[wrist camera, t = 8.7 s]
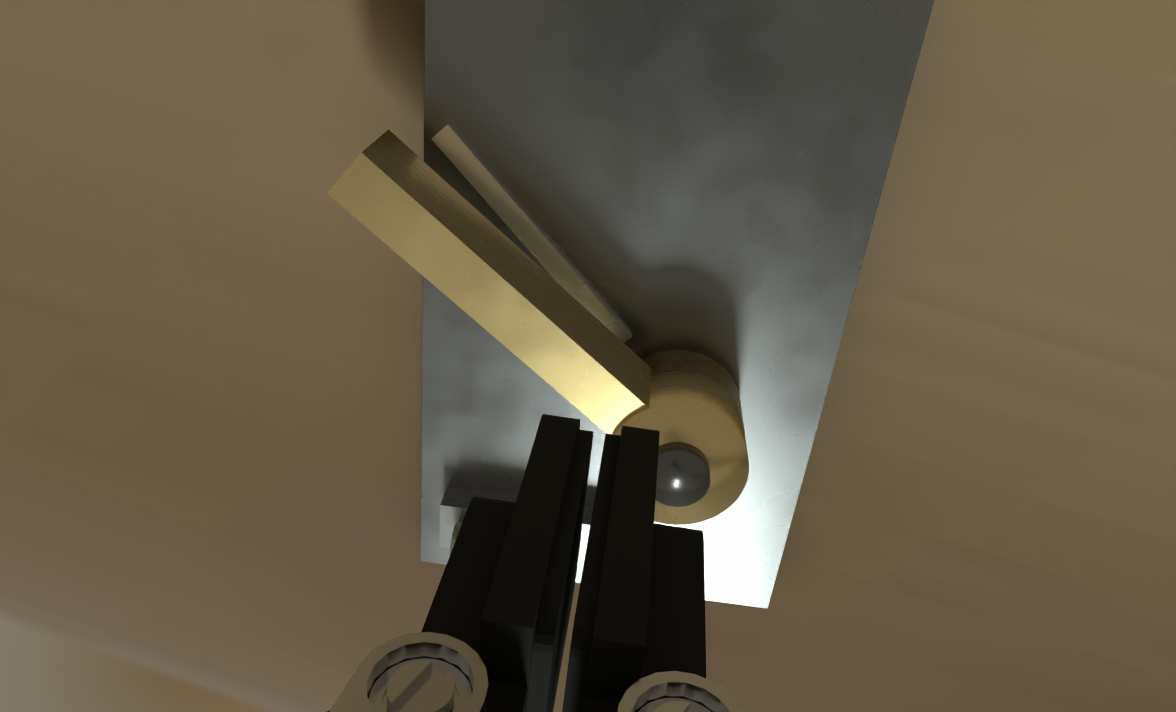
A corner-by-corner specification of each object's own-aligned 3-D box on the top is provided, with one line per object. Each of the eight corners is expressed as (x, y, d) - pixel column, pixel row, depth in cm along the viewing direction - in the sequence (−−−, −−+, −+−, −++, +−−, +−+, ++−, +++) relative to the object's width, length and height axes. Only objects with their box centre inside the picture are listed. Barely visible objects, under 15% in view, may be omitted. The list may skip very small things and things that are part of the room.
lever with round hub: (426, 87, 25) (383, 122, 22) (767, 408, 30) (781, 484, 26) (340, 189, 27) (287, 238, 23) (673, 478, 31) (674, 559, 28)
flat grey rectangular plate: (923, -19, 24) (966, -3, 21) (763, 581, 36) (774, 659, 32) (438, -76, 25) (399, -70, 21) (430, 536, 36) (403, 608, 32)
